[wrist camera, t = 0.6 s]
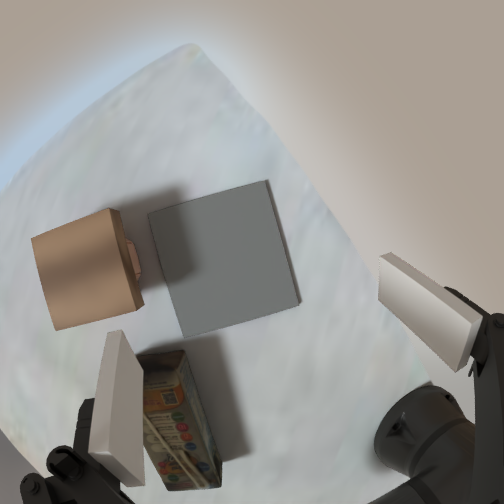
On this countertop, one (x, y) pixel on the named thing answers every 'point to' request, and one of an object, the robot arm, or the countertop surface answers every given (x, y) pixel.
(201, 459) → the beverage carton
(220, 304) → the mat
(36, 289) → the countertop surface
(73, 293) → the lid
